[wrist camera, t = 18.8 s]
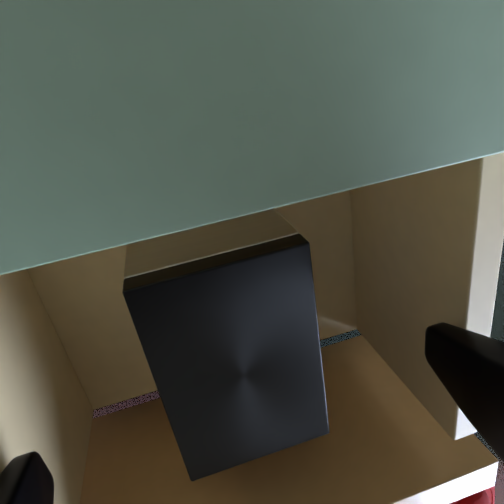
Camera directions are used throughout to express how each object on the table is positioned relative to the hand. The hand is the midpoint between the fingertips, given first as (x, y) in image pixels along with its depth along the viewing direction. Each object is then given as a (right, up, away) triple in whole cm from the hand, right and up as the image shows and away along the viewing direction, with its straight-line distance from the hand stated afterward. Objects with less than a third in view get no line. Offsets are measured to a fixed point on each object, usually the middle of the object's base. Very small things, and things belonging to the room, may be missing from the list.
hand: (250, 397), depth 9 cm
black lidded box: (-1, +2, +5) cm, 5 cm away
